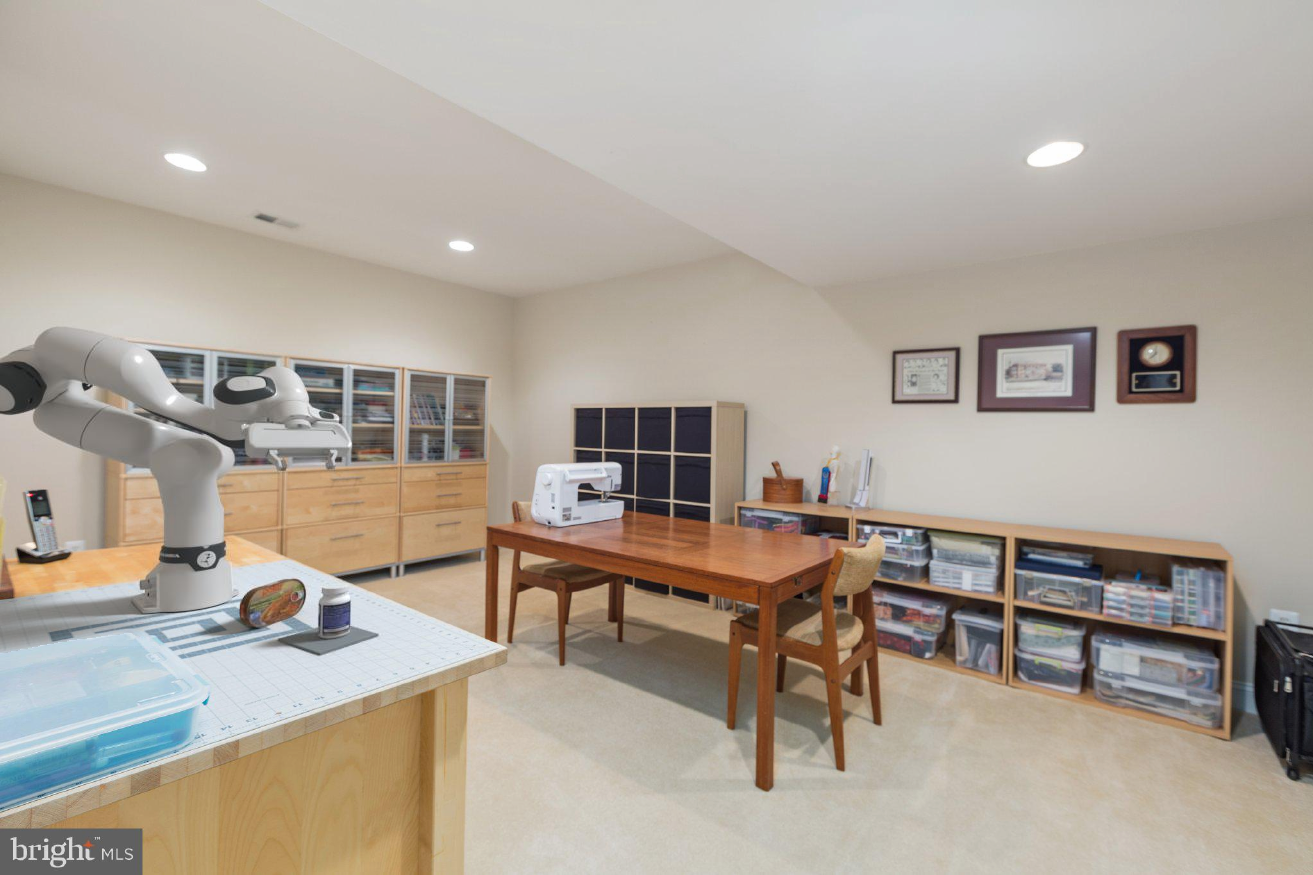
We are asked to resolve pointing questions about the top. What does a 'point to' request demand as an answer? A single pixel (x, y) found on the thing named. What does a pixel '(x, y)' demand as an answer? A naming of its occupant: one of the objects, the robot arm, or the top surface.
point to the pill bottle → (334, 611)
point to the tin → (272, 603)
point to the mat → (326, 640)
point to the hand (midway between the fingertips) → (307, 468)
